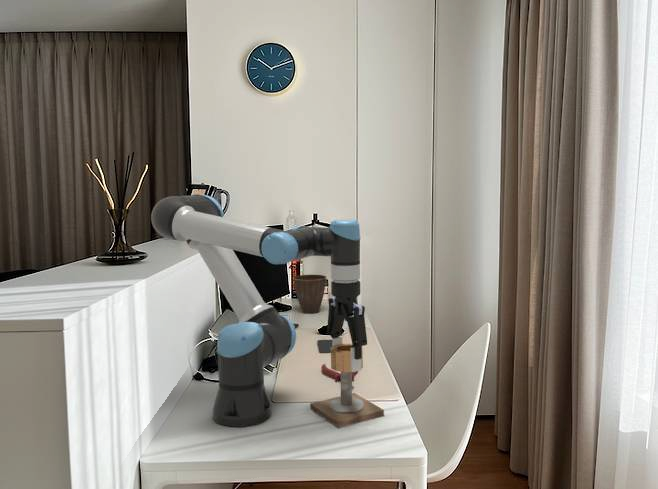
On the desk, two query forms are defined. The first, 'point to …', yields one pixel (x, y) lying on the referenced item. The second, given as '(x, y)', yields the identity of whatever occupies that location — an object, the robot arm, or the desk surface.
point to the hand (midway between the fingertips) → (346, 365)
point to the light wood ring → (342, 357)
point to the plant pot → (310, 291)
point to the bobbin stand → (346, 406)
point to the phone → (324, 346)
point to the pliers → (335, 374)
